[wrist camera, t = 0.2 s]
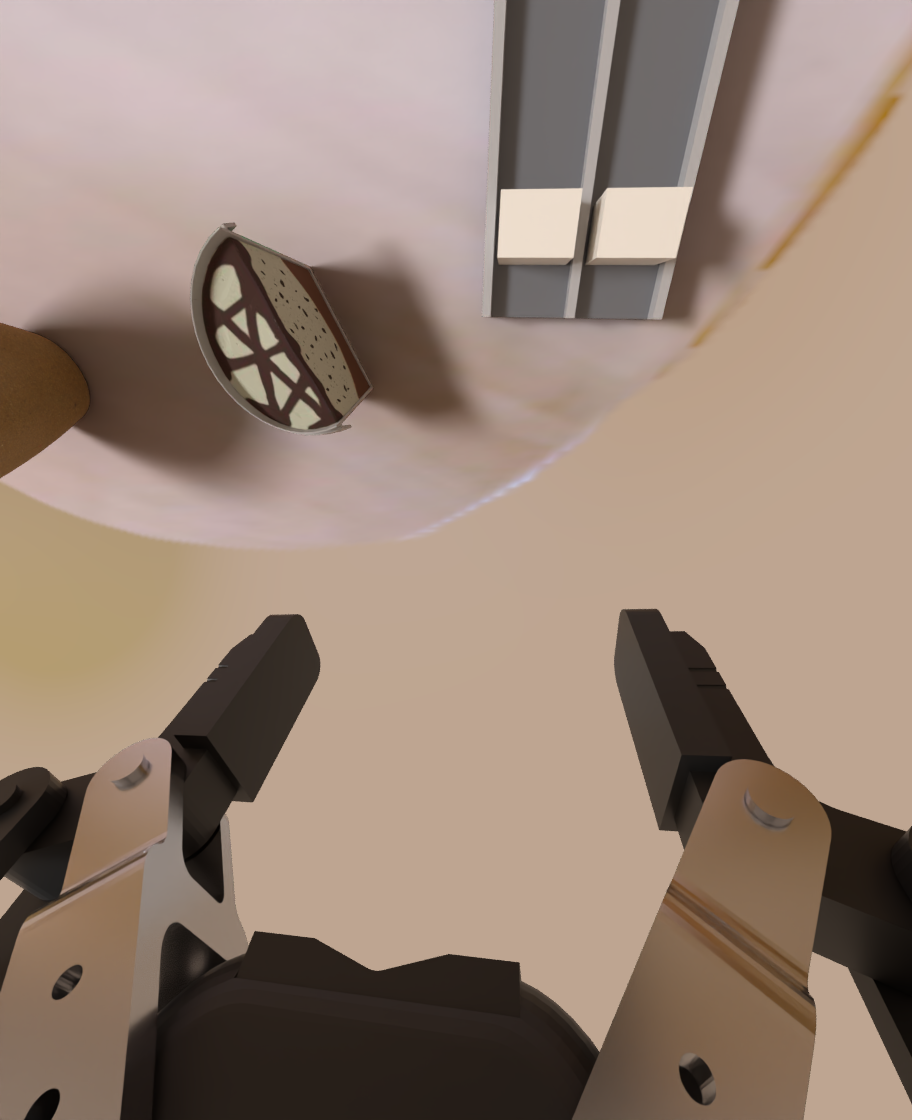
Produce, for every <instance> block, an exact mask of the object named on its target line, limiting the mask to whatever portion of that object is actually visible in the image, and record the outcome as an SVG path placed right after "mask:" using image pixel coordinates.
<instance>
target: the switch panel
mask: <svg viewBox="0 0 912 1120" xmlns="http://www.w3.org/2000/svg"><path fill="white" fill-rule="evenodd" d="M738 5H739V0H494V21H493V46H492V71H491V96H490V121H489V147H488V172H487V197H486V222H485V247H484V273H483V298H482V317H539V318H605V319H662V316H663V312H664V308H665V304H666V300H667V296H668V292H669V288H670V284H671V279H672V275H673V271H674V267H675V263H676V259H677V256H676V258H674V259H671V260H668V261H665V262H662V263H660V264H657V265H585V263H586V256H587V250H588V243H589V236H590V229H591V223H592V216H593V209H594V205H595V203H596V202H597V201H598V200H599V198H600V197H601V196H602V194H603V193H604V192H605V190H606V189H607V188H641V187H693V189H694V185H695V181H696V177H697V173H698V169H699V165H700V160H701V156H702V152H703V148H704V144H705V140H706V136H707V132H708V128H709V124H710V119H711V115H712V111H713V107H714V103H715V99H716V95H717V91H718V87H719V83H720V78H721V74H722V70H723V66H724V62H725V58H726V54H727V50H728V46H729V41H730V37H731V33H732V29H733V25H734V21H735V17H736V13H737V9H738ZM567 188H583V190H582V197H581V205H580V212H579V220H578V227H577V235H576V242H575V250H574V257H573V259H571V260H570V261H569V262H568V263H567V264H566V265H499V263H498V258H497V254H498V236H499V217H500V198H501V189H567ZM692 193H693V190H692ZM691 197H692V194H691ZM690 201H691V198H690ZM689 206H690V202H689ZM689 206H688V210H689ZM688 210H687V214H688ZM687 214H686V218H687ZM685 222H686V219H685ZM684 226H685V223H684ZM683 230H684V227H683ZM682 234H683V231H682ZM681 238H682V235H681ZM680 243H681V239H680ZM680 243H679V247H680ZM679 247H678V251H679ZM677 255H678V252H677Z"/></svg>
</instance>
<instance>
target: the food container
mask: <svg viewBox="0 0 912 1120" xmlns="http://www.w3.org/2000/svg"><path fill="white" fill-rule="evenodd" d="M235 227H236V224H235V223H225V224H222V225H221V226H220V227H218V228H217V229H216V230H215V231H214V232H213V234H212V235H211V236H210V237H209V238H208V239H207V241H206V243H205V244H204V246H203V247H202V249H201V250H200V253H199V255H198V258H197V260H196V263H195V265H194V270H193V275H192V279H191V291H190V304H191V316H192V321H193V325H194V330H195V334H196V337H197V340H198V343H199V346H200V349H201V351H202V353H203V356H204V358H205V360H206V362H207V364H208V366H209V368H210V369H211V371H212V373H213V374H214V376H215V377H216V379H217V381H218V382H219V383H220V384H221V386H222V387H223V388H224V390H225V391H226V392H227V393H228V394H229V395H230V396H231V397H232V398H233V399H234V400H235V402H236V403H237V404H238V405H240V406H241V407H242V408H243V409H245V410H246V411H247V412H248V413H249V414H251V415H252V416H254V417H256V418H257V419H259V420H260V421H262V422H264V423H266V424H268V425H270V426H272V427H275V428H277V429H280V430H283V431H286V432H290V433H293V434H300V435H324V434H331V433H335V432H340V431H343V430H346V429H348V428H351V425H345V426H342V423H343V422H344V421H345V419H346V418H347V417H348V416H349V415H350V414H351V413H352V412H353V411H354V409H355V408H356V407H357V406H358V405H359V404H360V403H361V402H362V401H363V399H364V398H365V397H366V396H367V395H368V394H369V393H370V392H371V391H372V390H373V386H372V385H371V383H370V381H369V379H368V377H367V375H366V373H365V371H364V369H363V367H362V365H361V364H360V362H359V360H358V358H357V356H356V354H355V352H354V350H353V348H352V346H351V344H350V343H349V341H348V339H347V337H346V335H345V333H344V331H343V329H342V327H341V325H340V323H339V322H338V320H337V318H336V316H335V314H334V312H333V310H332V308H331V306H330V304H329V303H328V301H327V299H326V297H325V295H324V293H323V291H322V289H321V287H320V285H319V283H318V282H317V280H316V278H315V276H314V274H313V272H312V270H311V268H310V266H307V265H305V264H303V263H301V262H299V261H296V260H294V259H292V258H290V257H287V256H285V255H283V254H281V253H279V252H276V251H274V250H272V249H270V248H267V247H265V246H263V245H261V244H259V243H256V242H254V241H252V240H250V239H247V238H245V237H243V236H241V235H239V234H236V233H234V232H232V230H233V229H234V228H235Z"/></svg>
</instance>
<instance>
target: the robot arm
mask: <svg viewBox="0 0 912 1120" xmlns="http://www.w3.org/2000/svg"><path fill="white" fill-rule="evenodd" d="M614 667H615V676H616V682H617V686H618V689H619V693H620V696H621V700H622V703H623V706H624V710H625V713H626V717H627V720H628V724H629V727H630V730H631V734H632V737H633V741H634V744H635V748H636V751H637V755H638V758H639V761H640V765H641V769H642V772H643V775H644V779H645V782H646V786H647V789H648V793H649V796H650V800H651V803H652V807H653V810H654V813H655V817H656V820H657V823H658V827H659V830H665V831H678V832H679V835H680V838H681V841H682V844H683V847H684V852H683V855H682V857H681V859H680V862H679V864H678V867H677V869H676V872H675V874H674V876H673V879H672V881H671V883H670V886H669V887H668V889H667V892H666V894H665V896H664V899H663V901H662V903H661V906H660V908H659V911H658V913H657V915H656V918H655V920H654V923H653V925H652V927H651V930H650V932H649V935H648V937H647V940H646V942H645V944H644V947H643V949H642V951H641V954H640V956H639V959H638V961H637V964H636V966H635V968H634V971H633V974H632V976H631V978H630V980H629V983H628V986H627V988H626V990H625V992H624V995H623V997H622V1000H621V1002H620V1005H619V1007H618V1009H617V1012H616V1014H615V1017H614V1019H613V1021H612V1024H611V1026H610V1029H609V1031H608V1033H607V1036H606V1038H605V1041H604V1043H603V1045H602V1048H601V1050H600V1052H599V1051H598V1049H597V1048H596V1046H595V1045H594V1044H593V1042H592V1041H591V1039H590V1038H589V1037H588V1036H587V1035H586V1033H585V1032H584V1031H583V1030H582V1029H581V1028H580V1026H579V1025H578V1024H577V1023H576V1022H575V1021H574V1019H573V1018H571V1016H569V1015H568V1014H567V1013H566V1012H565V1011H564V1010H563V1009H562V1008H561V1007H560V1006H559V1005H558V1004H556V1003H555V1002H554V1001H553V1000H551V999H550V998H549V997H547V996H546V995H544V994H543V993H542V992H540V991H539V990H537V989H535V988H534V987H532V986H530V985H528V984H526V983H524V982H522V981H521V974H520V963H519V962H511V961H502V960H493V959H485V958H477V957H468V956H460V955H452V954H448V955H444V956H439V957H436V958H431V959H427V960H424V961H419V962H415V963H411V964H407V965H402V966H399V967H394V968H390V969H386V970H382V971H374V970H370V969H368V968H366V967H364V966H363V965H361V964H359V963H357V962H356V961H354V960H352V959H350V958H348V957H347V956H345V955H343V954H342V953H340V952H338V951H336V950H334V949H332V948H331V947H329V946H327V945H325V944H324V943H322V942H320V941H319V940H317V939H315V938H308V937H300V936H291V935H283V934H274V933H266V932H257V931H255V932H254V935H253V937H252V940H251V942H250V944H249V946H248V942H247V938H246V935H245V932H244V930H243V927H242V925H241V922H240V920H239V917H238V914H237V910H236V905H235V894H234V881H233V869H232V855H231V842H230V830H229V821H228V817H227V816H226V814H225V812H226V811H227V809H228V807H229V805H230V803H231V802H232V801H241V802H253V801H254V799H255V798H256V795H257V794H258V792H259V790H260V788H261V786H262V784H263V782H264V780H265V778H266V776H267V775H268V773H269V771H270V769H271V767H272V765H273V763H274V761H275V759H276V757H277V756H278V754H279V752H280V750H281V748H282V746H283V744H284V742H285V740H286V738H287V737H288V735H289V733H290V731H291V729H292V727H293V725H294V723H295V721H296V719H297V717H298V715H299V714H300V712H301V710H302V708H303V706H304V704H305V702H306V700H307V698H308V696H309V695H310V693H311V691H312V689H313V687H314V685H315V683H316V681H317V679H318V676H319V672H320V658H319V654H318V652H317V650H316V647H315V645H314V642H313V640H312V637H311V635H310V632H309V629H308V627H307V625H306V622H305V620H304V618H303V617H302V616H301V615H298V614H295V615H294V614H293V615H270V616H268V617H267V618H266V619H265V620H264V621H263V623H262V624H261V625H260V626H259V628H258V629H257V630H256V631H255V633H254V634H251V635H249V636H248V637H247V638H245V639H244V640H243V641H241V642H240V643H239V644H237V645H236V646H235V647H233V648H232V649H231V650H230V652H229V653H228V654H227V655H226V656H225V658H224V659H223V660H222V661H221V662H220V664H219V667H218V668H215V670H214V671H213V672H212V673H211V675H210V676H209V677H208V680H207V682H204V683H203V684H202V686H201V687H200V688H199V689H198V690H197V691H196V693H195V694H194V695H193V696H192V698H191V699H190V700H189V701H188V702H187V704H186V705H185V706H184V707H183V708H182V710H181V711H180V712H179V713H178V714H177V716H176V717H175V718H174V719H173V721H172V722H171V723H170V724H169V725H168V727H167V728H166V729H165V730H164V731H163V733H162V734H161V735H160V736H159V737H158V738H150V739H146V740H142V741H139V742H137V743H134V744H132V745H130V746H128V747H127V748H125V749H123V750H122V751H120V752H119V753H118V754H116V755H115V756H113V757H112V758H111V759H109V760H108V761H107V762H106V763H105V764H104V765H103V766H102V767H101V768H100V769H99V770H98V772H96V773H92V774H88V775H84V776H81V777H77V778H73V779H70V780H66V781H62V782H60V781H59V780H58V779H57V778H56V777H54V775H52V774H51V773H50V772H49V771H48V770H47V769H45V768H43V767H33V768H28V769H24V770H22V771H19V772H16V773H14V774H12V775H10V776H8V777H6V778H4V779H2V780H1V781H0V880H1V879H2V878H3V877H6V878H8V879H9V880H11V881H12V882H14V883H16V884H17V885H19V886H20V887H22V888H23V889H24V890H23V891H22V893H21V894H20V895H19V896H18V898H17V899H16V900H15V902H14V903H13V904H12V905H11V906H10V908H9V909H8V910H7V912H6V913H5V914H4V915H3V916H2V918H1V919H0V1120H803V1118H804V1112H805V1104H806V1098H807V1092H808V1085H809V1077H810V1071H811V1064H812V1057H813V1050H814V1043H815V1035H816V1007H815V1002H814V999H813V998H812V997H811V995H809V992H808V973H809V966H810V960H811V954H812V952H814V953H817V954H819V955H821V956H823V957H826V958H828V959H830V960H832V961H835V962H837V963H839V964H841V965H843V966H846V967H848V969H849V971H850V973H851V975H852V977H853V979H854V982H855V984H856V986H857V988H858V990H859V992H860V994H861V996H862V998H863V1000H864V1002H865V1005H866V1007H867V1009H868V1011H869V1013H870V1015H871V1018H872V1020H873V1022H874V1024H875V1026H876V1028H877V1030H878V1032H879V1035H880V1037H881V1039H882V1041H883V1043H884V1046H885V1047H886V1050H887V1052H888V1054H889V1056H890V1058H891V1060H892V1063H893V1064H894V1067H895V1069H896V1071H897V1073H898V1075H899V1077H900V1080H901V1082H902V1084H903V1086H904V1088H905V1090H906V1092H907V1094H908V1096H909V1099H910V1101H911V1103H912V826H911V828H910V829H909V830H908V831H907V832H906V831H903V830H900V829H897V828H894V827H890V826H888V825H884V824H881V823H878V822H875V821H872V820H869V819H866V818H862V817H859V816H856V815H853V814H850V813H847V812H844V811H840V810H838V809H835V808H832V807H830V806H828V805H826V804H824V803H821V802H819V801H818V800H817V799H816V797H815V796H814V795H813V794H812V793H811V792H810V791H809V790H808V789H807V788H806V787H805V786H804V785H803V784H801V783H800V782H799V781H798V780H796V779H795V778H793V777H792V776H791V775H789V774H788V773H786V772H784V771H782V770H780V769H778V768H776V767H775V766H774V765H773V764H772V762H771V761H770V759H769V758H768V756H767V754H766V753H765V751H764V749H763V748H762V746H761V744H760V742H759V741H758V739H757V737H756V735H755V734H754V732H753V730H752V729H751V727H750V725H749V723H748V722H747V720H746V718H745V717H744V715H743V713H742V711H741V710H740V708H739V706H738V705H737V703H736V701H735V700H734V698H733V696H732V694H731V692H730V691H729V690H728V689H726V684H725V682H724V681H723V679H722V677H721V675H720V674H719V672H717V671H716V667H715V665H714V663H713V662H712V660H711V658H710V657H709V655H708V653H707V652H706V650H705V648H704V647H703V646H702V645H700V644H699V643H698V642H697V641H696V640H694V639H693V638H692V637H691V636H690V635H688V634H687V633H686V632H685V631H679V632H678V631H674V632H670V631H669V629H668V627H667V625H666V623H665V621H664V619H663V617H662V615H661V613H660V612H659V611H658V610H657V609H627V610H626V609H623V610H622V611H621V612H620V617H619V625H618V633H617V641H616V649H615V657H614Z"/></svg>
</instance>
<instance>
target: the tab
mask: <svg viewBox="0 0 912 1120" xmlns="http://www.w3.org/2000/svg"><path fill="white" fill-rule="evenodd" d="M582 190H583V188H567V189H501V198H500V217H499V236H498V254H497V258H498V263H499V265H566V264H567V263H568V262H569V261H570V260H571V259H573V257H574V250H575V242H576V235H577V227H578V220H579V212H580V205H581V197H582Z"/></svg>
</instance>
